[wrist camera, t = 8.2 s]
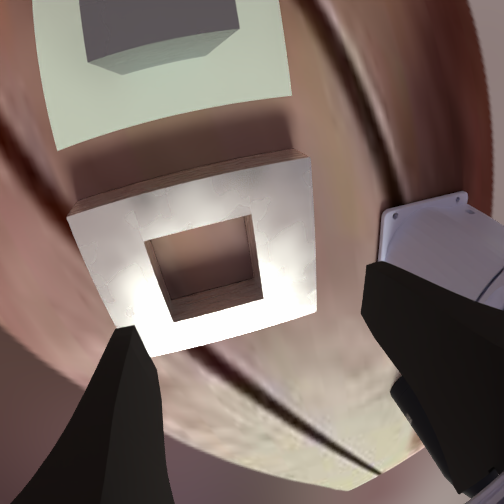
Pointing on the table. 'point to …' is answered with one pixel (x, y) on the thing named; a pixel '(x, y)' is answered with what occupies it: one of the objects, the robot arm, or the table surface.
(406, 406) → the dark wine bottle
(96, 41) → the peg
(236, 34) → the pad
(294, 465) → the table surface
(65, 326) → the table surface
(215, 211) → the socket block
